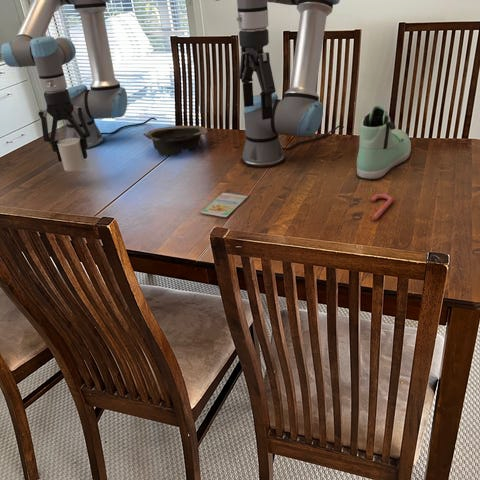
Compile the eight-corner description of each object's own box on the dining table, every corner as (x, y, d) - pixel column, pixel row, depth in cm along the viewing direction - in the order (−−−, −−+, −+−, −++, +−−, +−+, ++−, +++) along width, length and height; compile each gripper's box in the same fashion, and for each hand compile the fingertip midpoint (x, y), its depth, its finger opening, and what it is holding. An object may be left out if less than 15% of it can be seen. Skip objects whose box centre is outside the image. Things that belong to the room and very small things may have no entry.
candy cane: (355, 217, 134) (355, 212, 134) (376, 195, 144) (376, 191, 144) (376, 222, 131) (376, 217, 130) (395, 199, 141) (396, 195, 141)
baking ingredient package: (199, 211, 142) (223, 191, 153) (199, 213, 142) (223, 192, 154) (226, 216, 138) (248, 195, 150) (226, 217, 139) (248, 196, 150)
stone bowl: (160, 165, 176) (155, 140, 172) (140, 150, 196) (135, 128, 192) (220, 149, 185) (217, 125, 181) (195, 136, 205) (192, 115, 201)
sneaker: (416, 146, 176) (423, 89, 165) (393, 183, 150) (400, 120, 140) (378, 142, 182) (383, 87, 171) (351, 177, 156) (354, 116, 146)
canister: (68, 163, 168) (61, 138, 163) (89, 162, 167) (83, 137, 162) (61, 172, 161) (53, 146, 156) (83, 171, 161) (76, 144, 156)
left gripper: (19, 96, 147) (40, 166, 158) (87, 89, 149) (102, 159, 160) (24, 91, 153) (44, 158, 165) (89, 84, 155) (104, 151, 167)
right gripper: (223, 25, 130) (230, 103, 142) (258, 37, 110) (262, 127, 121) (249, 22, 132) (253, 99, 143) (287, 33, 112) (289, 121, 123)
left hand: (73, 158), depth 162 cm, fingers closed on canister, 7 cm apart
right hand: (257, 112), depth 132 cm, fingers open, 13 cm apart
